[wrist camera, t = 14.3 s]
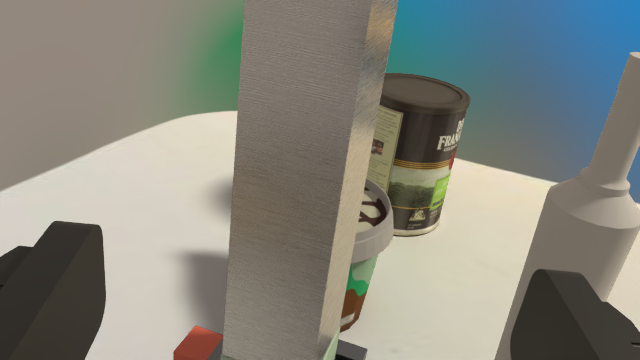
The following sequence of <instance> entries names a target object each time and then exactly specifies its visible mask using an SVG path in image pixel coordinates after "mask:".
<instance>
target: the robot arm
mask: <svg viewBox="0 0 640 360" xmlns="http://www.w3.org/2000/svg"><path fill="white" fill-rule="evenodd" d="M105 301H106V289H105V270H104V251H103V235H102V230H101V227H100V226H99V225H94V224H84V223H73V222H63V221H54V222H53V223H52V224H51V225H50V226H49V227H48V228H47V230H46V231H45V232H44V234H43V235H42V236H41V238H40V239H39V240H38V241H37V243H36V244H35V245H34V247H26V246H18V247H16V248H14V249H13V250H11V251H9V252H8V253H6V254H4V255H3V256H1V257H0V360H85V357H86V355H87V353H88V351H89V349H90V347H91V345H92V343H93V341H94V339H95V337H96V334H97V332H98V330H99V328H100V325H101V322H102V319H103V314H104V309H105ZM510 354H511V360H640V332H639V331H638V329H637V328H636V327H635V325H634V324H633V323H632V321H630V320H629V319H628V318H627V317H625V316H624V315H623V314H622V313H620V312H619V311H618V310H617V309H615V308H614V307H613V306H612V305H611V304H609V303H608V302H603V301H601V300H600V298H599V297H598V295H597V294H596V292H595V291H594V289H593V288H592V287H591V285H590V284H589V282H588V281H587V279H586V278H585V277H584V276H583V275H582V274H581V273H579V272H569V271H559V270H549V269H537V270H536V271H535V272H534V273H533V275H532V277H531V279H530V282H529V285H528V287H527V290H526V293H525V296H524V299H523V302H522V304H521V307H520V310H519V313H518V316H517V319H516V321H515V324H514V327H513V330H512V334H511V340H510Z"/></svg>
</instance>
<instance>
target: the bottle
mask: <svg viewBox="0 0 640 360" xmlns="http://www.w3.org/2000/svg"><path fill="white" fill-rule="evenodd" d="M617 89H618V91H617V94H616V96H615V99H614V102H613V104H612V107H611V109H610V112H609V115H608V117H607V120H606V123H605V125H604V128H603V131H602V134H601V136H600V139H599V141H598V144H597V147H596V149H595V152H594V155H593V157H592V160H591V163H590V165H589V166H588V168H584V169H581V171H580V173H579V175H578V177H575V178H573V179H570V180H567V181H564V182H562V183H559V184H556V185H554V186H551V187H550V189H549V191H548V193H547V196H546V199H545V202H544V206H543V209H542V212H541V215H540V218H539V221H538V224H537V228H536V231H535V234H534V237H533V240H532V243H531V246H530V250H529V253H528V256H527V259H526V262H525V265H524V268H523V272H522V275H521V278H520V281H519V284H518V287H517V290H516V293H515V297H514V300H513V303H512V306H511V309H510V312H509V315H508V319H507V322H506V325H505V328H504V331H503V334H502V337H501V341H500V344H499V347H498V350H497V353H496V356H495V359H494V360H511V354H510V340H511V334H512V330H513V327H514V324H515V321H516V319H517V316H518V313H519V310H520V307H521V304H522V302H523V299H524V296H525V293H526V290H527V287H528V285H529V282H530V279H531V277H532V275H533V273H534V272H535V271H536V270H537V269H549V270H559V271H569V272H579V273H581V274H582V275H583V276H584V277H585V278H586V279H587V281H588V282H589V284H590V285H591V287H592V288H593V289H594V291H595V292H596V294H597V295H598V297H599V298H600V300H601V301H603V302H606V300H607V298H608V296H609V294H610V291H611V289H612V287H613V285H614V283H615V281H616V279H617V277H618V274H619V272H620V270H621V268H622V266H623V264H624V262H625V260H626V257H627V255H628V253H629V251H630V249H631V247H632V245H633V243H634V240H635V238H636V236H637V234H638V232H639V230H640V210H639V209H638V207H637V206H636V204H635V203H634V201H633V199H632V198H631V196H630V195H629V193H628V191H629V188H630V184H629V182H628V181H627V180H626V177H627V174H628V172H629V169H630V167H631V164H632V162H633V159H634V157H635V154H636V152H637V149H638V147H639V145H640V52H631V53H630V55H629V58H628V61H627V63H626V66H625V69H624V71H623V74H622V77H621V80H620V82H619V85H618V88H617Z"/></svg>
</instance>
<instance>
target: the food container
mask: <svg viewBox="0 0 640 360" xmlns="http://www.w3.org/2000/svg"><path fill="white" fill-rule="evenodd" d="M393 233H394V228H393V210H392V207H391V203H390V200H389V197H388V196H387V194H386V193H385V191H384V190H383V189H382V188H381V187H380V186H379V185H377V184H376V183H375V182H373V181H372V180H370V179H368V178H367V177H366V181H365V187H364V192H363V198H362V204H361V209H360V215H359V220H358V226H357V231H356V237H355V242H354V248H353V253H352V259H351V265H350V270H349V276H348V281H347V287H346V292H345V298H344V303H343V309H342V314H341V320H340V326H339V327H340V333H341V332H343V331H345V330H347V329H349V328H350V327H351V326H352V325H353V324H354V323H355V322H356V321H357V320H358V318H359V315H360V312H361V309H362V305H363V302H364V299H365V296H366V293H367V289H368V286H369V283H370V280H371V276H372V273H373V270H374V267H375V263H376V260H377V257H378V254H379V253H380V252H382V251H383V250H384V249H385V248H386V247H387V246H388V245H389V243H390V242H391V240H392V237H393Z"/></svg>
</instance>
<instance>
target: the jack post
mask: <svg viewBox="0 0 640 360" xmlns="http://www.w3.org/2000/svg"><path fill="white" fill-rule="evenodd" d="M397 4H398V0H245V5H244V21H243V22H244V23H243V38H242V53H241V68H240V84H239V99H238V100H239V101H238V115H237V131H236V146H235V162H234V178H233V193H232V209H231V225H230V240H229V256H228V272H227V287H226V303H225V319H224V334H223V350H222V354H221V357H220V360H334V359H335V355H336V349H337V344H338V338H339V333H340V327H339V326H340V320H341V314H342V309H343V303H344V298H345V292H346V287H347V281H348V276H349V270H350V265H351V259H352V253H353V248H354V242H355V237H356V231H357V226H358V220H359V215H360V209H361V204H362V198H363V192H364V187H365V181H366V176H367V170H368V165H369V159H370V154H371V148H372V143H373V137H374V132H375V126H376V120H377V115H378V109H379V104H380V98H381V93H382V87H383V82H384V76H385V71H386V64H387V59H388V54H389V48H390V42H391V37H392V32H393V26H394V21H395V15H396V10H397Z"/></svg>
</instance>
